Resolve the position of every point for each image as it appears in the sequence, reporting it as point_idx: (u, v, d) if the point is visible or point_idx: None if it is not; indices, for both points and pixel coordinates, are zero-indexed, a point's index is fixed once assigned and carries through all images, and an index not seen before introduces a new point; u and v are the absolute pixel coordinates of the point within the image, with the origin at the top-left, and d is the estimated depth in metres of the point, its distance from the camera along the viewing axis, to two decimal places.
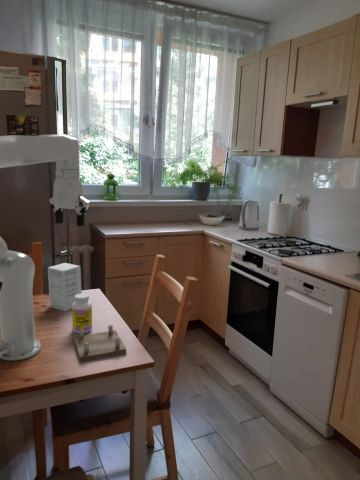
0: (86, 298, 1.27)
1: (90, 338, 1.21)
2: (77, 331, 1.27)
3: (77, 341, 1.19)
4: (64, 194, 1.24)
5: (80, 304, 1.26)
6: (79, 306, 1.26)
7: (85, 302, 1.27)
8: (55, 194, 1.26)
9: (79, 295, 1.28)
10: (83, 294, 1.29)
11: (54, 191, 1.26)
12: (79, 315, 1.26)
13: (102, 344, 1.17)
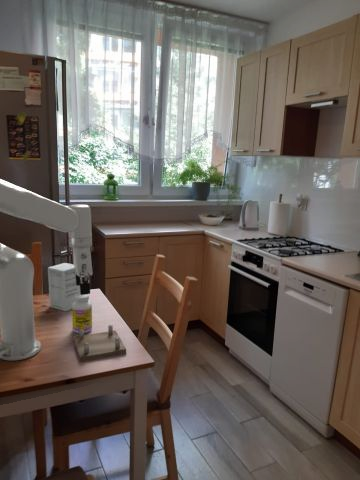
0: (86, 298, 1.27)
1: (90, 338, 1.21)
2: (77, 331, 1.27)
3: (77, 341, 1.19)
4: None
5: (80, 304, 1.26)
6: (79, 306, 1.26)
7: (85, 302, 1.27)
8: (91, 262, 1.24)
9: (79, 295, 1.28)
10: None
11: None
12: (79, 315, 1.26)
13: (102, 344, 1.17)
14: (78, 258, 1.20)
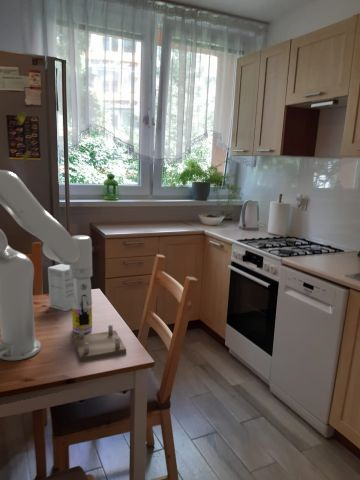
0: None
1: (90, 338, 1.21)
2: (77, 331, 1.27)
3: (77, 341, 1.19)
4: None
5: None
6: None
7: None
8: None
9: None
10: None
11: None
12: None
13: (102, 344, 1.17)
14: (78, 289, 1.22)
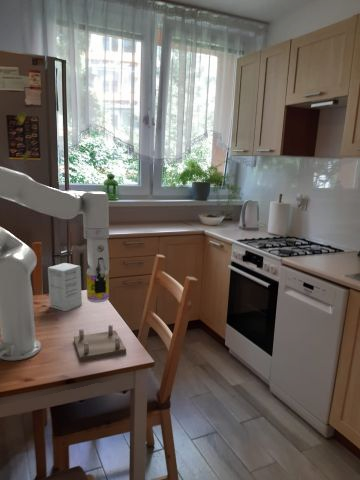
0: None
1: (90, 338, 1.21)
2: (93, 300, 1.13)
3: (77, 341, 1.19)
4: None
5: None
6: None
7: None
8: None
9: None
10: None
11: None
12: None
13: (102, 344, 1.17)
14: (94, 251, 1.08)
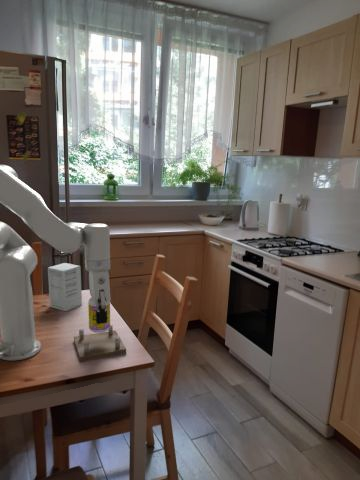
0: None
1: (90, 338, 1.21)
2: (94, 330, 1.14)
3: (77, 341, 1.19)
4: None
5: (98, 300, 1.13)
6: None
7: None
8: None
9: None
10: None
11: None
12: None
13: (102, 344, 1.17)
14: (95, 283, 1.09)
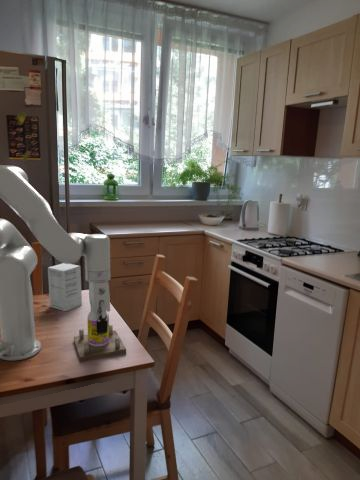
0: None
1: None
2: (93, 344, 1.15)
3: (77, 341, 1.19)
4: None
5: None
6: (96, 317, 1.14)
7: None
8: None
9: None
10: None
11: (109, 295, 1.12)
12: (96, 327, 1.14)
13: None
14: (95, 294, 1.10)
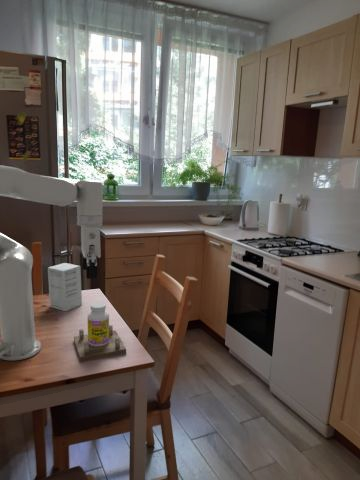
0: (103, 308, 1.15)
1: None
2: (93, 344, 1.15)
3: (77, 341, 1.19)
4: None
5: (97, 315, 1.14)
6: (96, 317, 1.14)
7: (102, 312, 1.15)
8: None
9: (95, 304, 1.16)
10: (99, 303, 1.17)
11: None
12: (96, 326, 1.14)
13: None
14: (86, 238, 1.10)
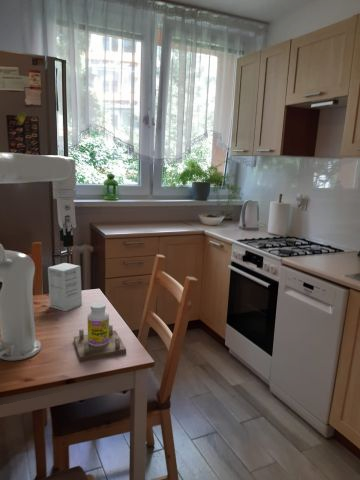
0: (103, 308, 1.15)
1: None
2: (93, 344, 1.15)
3: (77, 341, 1.19)
4: None
5: (97, 315, 1.14)
6: (96, 317, 1.14)
7: (102, 312, 1.15)
8: None
9: (95, 304, 1.16)
10: (99, 303, 1.17)
11: (74, 212, 1.23)
12: (96, 326, 1.14)
13: None
14: (61, 209, 1.21)
